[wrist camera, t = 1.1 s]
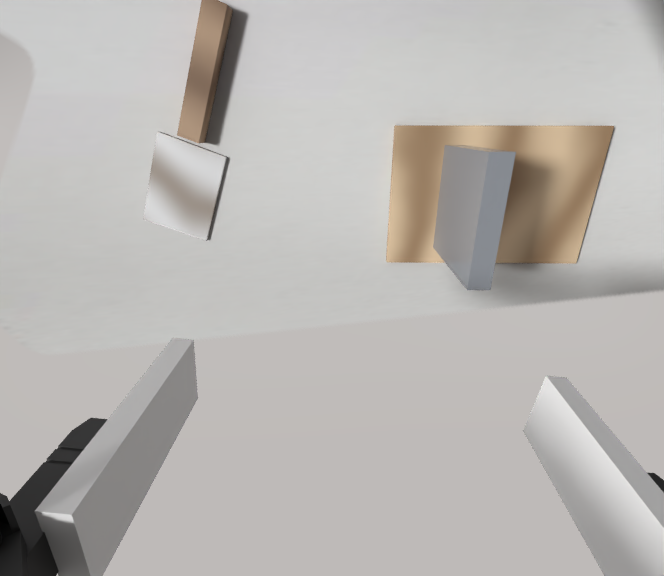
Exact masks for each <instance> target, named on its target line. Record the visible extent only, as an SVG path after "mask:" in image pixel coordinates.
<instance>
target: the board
mask: <svg viewBox="0 0 664 576" xmlns="http://www.w3.org/2000/svg"><path fill="white" fill-rule="evenodd" d="M613 129H614V126H395V127H394V144H393V160H392V176H391V192H390V208H389V224H388V240H387V256H386V261H387V262H429V263H445V262H444V261H443V259H442V258H441V257H440V256H439V254H438V253H437V252H436V251H435V249H434V248H433V243H434V235H435V226H436V217H437V208H438V199H439V191H440V182H441V173H442V164H443V155H444V146H445V145H467V146H474V147H482V148H490V149H497V150H505V151H513V152H516V155H515V160H514V166H513V171H512V176H511V182H510V187H509V192H508V198H507V203H506V209H505V214H504V219H503V225H502V230H501V235H500V241H499V246H498V252H497V257H496V262H495V263H576V262H577V259H578V255H579V251H580V248H581V244H582V241H583V237H584V233H585V230H586V226H587V223H588V219H589V215H590V212H591V208H592V205H593V201H594V197H595V194H596V190H597V187H598V183H599V179H600V176H601V172H602V169H603V165H604V161H605V158H606V154H607V151H608V147H609V143H610V140H611V136H612V133H613Z"/></svg>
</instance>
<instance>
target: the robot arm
mask: <svg viewBox="0 0 664 576" xmlns="http://www.w3.org/2000/svg"><path fill="white" fill-rule="evenodd" d="M196 381H197V380H196V367H195V353H194V340H189V339H179V338H172V340H171V341H170V342H169V343H168V345H167V346H166V347H165V348H164V350H163V351H162V352H161V353H160V355H159V356H158V357H157V359H156V360H155V361H154V362H153V363H152V365H151V366H150V367H149V368H148V370H147V371H146V372H145V373H144V375H143V376H142V377H141V378H140V380H139V381H138V382H137V383H136V385H135V386H134V387H133V389H132V390H131V391H130V392H129V393H128V395H127V396H126V397H125V399H124V400H123V401H122V402H121V404H120V405H119V406H118V407H117V409H116V410H115V411H114V412H113V414H112V415H111V416H110V417H109V419H98V418H90V419H88V420H87V421H85V422H84V423H82V424H81V425H80V426H78V427H77V428H75V429H74V430H72V431H71V432H70V433H69V435H68V436H67V437H66V438H65V439H64V440H63V442H62V443H61V444H60V445H59V446H58V449H55V450H54V452H53V453H52V454H51V455H50V456H49V457H48V458H47V461H46V462H45V463H43V464H42V465H41V466H40V467H39V469H38V470H37V471H36V472H35V473H34V474H33V475H32V476H31V478H30V479H29V480H28V481H27V482H26V483H25V484H24V486H23V487H22V488H21V489H20V490H19V491H18V492H17V493H16V495H15V496H14V497H13V498H12V499H11V500H10V501H9V500H8V498H7V496H5V495H3V494H1V493H0V576H56V575H57V573H58V575H59V576H103V574H104V572H105V570H106V568H107V566H108V565H109V563H110V561H111V559H112V557H113V555H114V553H115V552H116V550H117V548H118V546H119V544H120V542H121V540H122V538H123V537H124V535H125V533H126V531H127V529H128V527H129V526H130V523H131V522H132V520H133V518H134V516H135V514H136V512H137V510H138V509H139V507H140V505H141V503H142V501H143V499H144V498H145V496H146V494H147V492H148V490H149V488H150V486H151V484H152V483H153V481H154V479H155V477H156V475H157V473H158V471H159V470H160V468H161V466H162V464H163V462H164V460H165V458H166V457H167V455H168V453H169V451H170V449H171V447H172V445H173V443H174V442H175V440H176V438H177V436H178V434H179V432H180V430H181V429H182V427H183V425H184V423H185V421H186V419H187V417H188V416H189V414H190V412H191V410H192V408H193V406H194V404H195V402H196V401H197V399H198V395H197V382H196ZM523 431H524V433H525V435H526V437H527V439H528V440H529V442H530V444H531V446H532V448H533V449H534V451H535V453H536V455H537V457H538V458H539V460H540V462H541V464H542V465H543V467H544V469H545V471H546V472H547V474H548V476H549V478H550V479H551V481H552V483H553V485H554V487H555V488H556V490H557V492H558V494H559V495H560V497H561V499H562V501H563V503H564V504H565V506H566V508H567V510H568V512H569V513H570V515H571V517H572V519H573V520H574V522H575V524H576V526H577V528H578V529H579V531H580V533H581V535H582V537H583V538H584V540H585V542H586V544H587V546H588V547H589V549H590V551H591V553H592V554H593V556H594V558H595V560H596V561H597V563H598V565H599V567H600V569H601V570H602V572H603V574H604V576H664V480H663V479H661V478H660V477H659V476H657V475H656V474H655V473H647V472H646V471H645V470H644V469H643V468H642V466H641V465H640V464H639V463H638V462H637V460H636V459H635V458H634V457H633V456H632V455H631V453H630V452H629V451H628V450H627V449H626V447H625V446H624V445H623V444H622V443H621V442H620V440H619V439H618V438H617V437H616V436H615V435H614V434H613V432H612V431H611V430H610V429H609V427H608V426H607V425H606V424H605V423H604V421H603V420H602V419H601V418H600V417H599V416H598V414H597V413H596V412H595V411H594V410H593V408H592V407H591V406H590V405H589V404H588V403H587V401H586V400H585V399H584V398H583V397H582V395H581V394H580V393H579V392H578V391H577V390H576V388H575V387H574V386H573V385H572V384H571V382H570V381H569V380H568V379H567V378H564V377H553V376H546V378H545V380H544V382H543V385H542V387H541V389H540V392H539V394H538V397H537V399H536V401H535V404H534V406H533V409H532V411H531V414H530V416H529V418H528V421H527V423H526V425H525V428H524V430H523Z"/></svg>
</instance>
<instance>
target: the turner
mask: <svg viewBox="0 0 664 576" xmlns="http://www.w3.org/2000/svg"><path fill="white" fill-rule="evenodd" d="M232 12H233V10H232V9H231V8H230V7H229V6H228V5H227V4H225V3H222V2H220V1H218V0H202V2H201V7H200V13H199V18H198V24H197V29H196V35H195V40H194V46H193V51H192V57H191V62H190V68H189V73H188V79H187V84H186V90H185V95H184V100H183V106H182V111H181V117H180V122H179V128H178V133H177V135H178V136H181V137H183V138H186V139H189V140H191V141H194V142H197V143H205V140H206V135H207V130H208V126H209V121H210V116H211V111H212V107H213V102H214V97H215V93H216V88H217V83H218V78H219V74H220V69H221V64H222V60H223V55H224V50H225V45H226V41H227V36H228V31H229V27H230V22H231V17H232ZM226 160H227V157H225V156H223V155H220V154H217V153H215V152H212V151H209V150H207V149H204V148H201V147H199V146H196V145H193V144H191V143H188V142H185V141H183V140H180V139H177V138H175V137H172V136H169V135H167V134H164V133H161V132H157V136H156V142H155V148H154V155H153V161H152V167H151V173H150V179H149V185H148V192H147V198H146V204H145V210H144V216H143V219H144V220H147V221H150V222H152V223H155V224H158V225H161V226H164V227H167V228H170V229H173V230H176V231H179V232H182V233H185V234H187V235H190V236H193V237H196V238H199V239H202V240H205V241H207V240H208V235H209V231H210V227H211V223H212V219H213V214H214V210H215V206H216V202H217V198H218V193H219V189H220V185H221V181H222V177H223V172H224V168H225V164H226Z"/></svg>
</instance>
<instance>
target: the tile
mask: <svg viewBox="0 0 664 576" xmlns="http://www.w3.org/2000/svg"><path fill="white" fill-rule="evenodd" d="M515 155H516V152H513V151H505V150H497V149H490V148H482V147H474V146H467V145H445V146H444V155H443V164H442V173H441V182H440V191H439V199H438V208H437V217H436V226H435V235H434V243H433V248H434V249H435V251H436V252H437V253H438V254H439V256H440V257H441V258H442V259H443V261H444V262H445V263H446V264H447V265H448V267H449V268H450V269H451V270H452V272H453V273H454V274H455V275H456V277H457V278H458V279H459V280H460V282H461V283H462V284H463V285H464V287H465V288H466V289H467V290H490V289H491V284H492V278H493V273H494V268H495V262H496V257H497V252H498V246H499V241H500V235H501V230H502V225H503V219H504V214H505V209H506V203H507V198H508V192H509V187H510V182H511V176H512V171H513V166H514V160H515Z"/></svg>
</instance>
